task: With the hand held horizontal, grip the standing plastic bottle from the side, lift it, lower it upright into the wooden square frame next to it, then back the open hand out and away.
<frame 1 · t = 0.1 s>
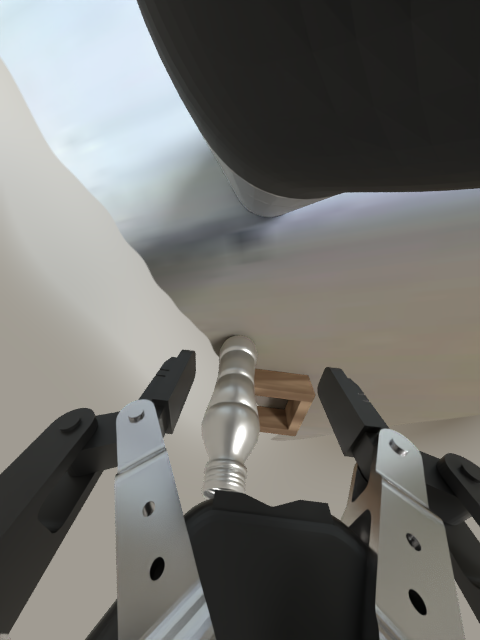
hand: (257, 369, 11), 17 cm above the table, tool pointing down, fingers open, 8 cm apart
wooden square frame: (268, 393, 37), on the table
plastic bottle: (239, 344, 32), on the table
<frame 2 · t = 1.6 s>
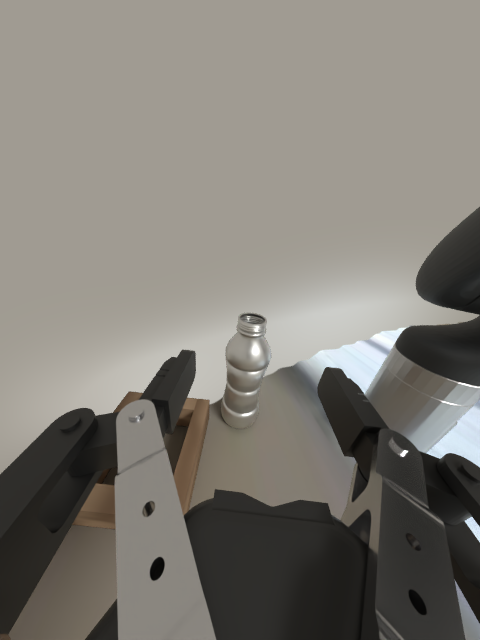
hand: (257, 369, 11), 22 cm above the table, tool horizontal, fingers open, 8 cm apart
wooden square frame: (152, 457, 25), on the table
plastic bottle: (238, 417, 31), on the table
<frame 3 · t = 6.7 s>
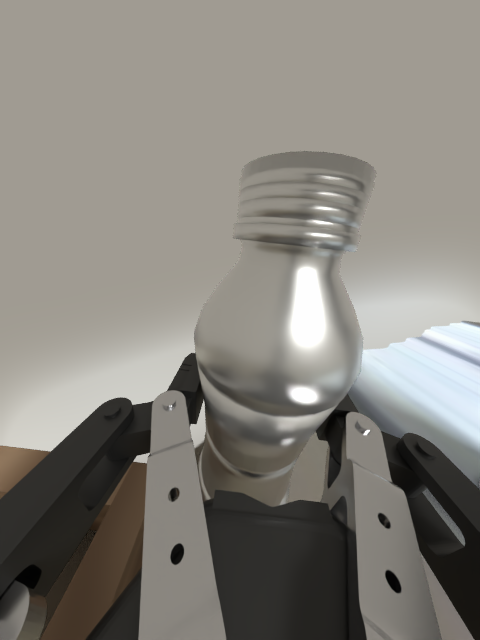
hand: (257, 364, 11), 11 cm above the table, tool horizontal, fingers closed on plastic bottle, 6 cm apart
plastic bottle: (238, 493, 14), on the table, touching gripper
when the fingers open (12 cm above the table, at t = 13.6 s): plastic bottle drops 1 cm, resting in wooden square frame.
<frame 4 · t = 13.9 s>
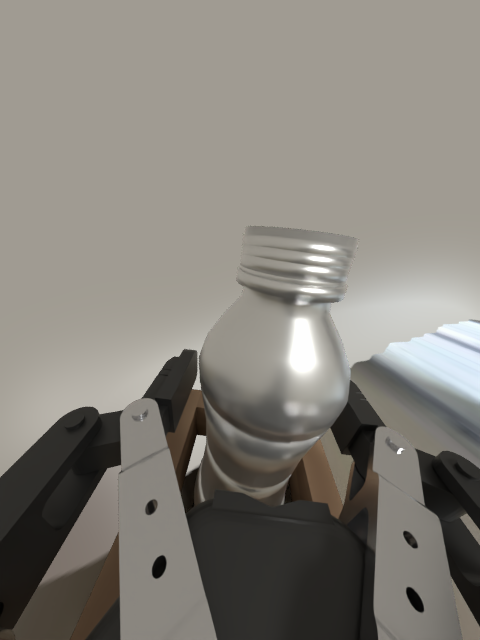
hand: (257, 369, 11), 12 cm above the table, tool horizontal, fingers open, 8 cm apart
wooden square frame: (236, 500, 14), on the table
plastic bottle: (235, 503, 14), resting in wooden square frame
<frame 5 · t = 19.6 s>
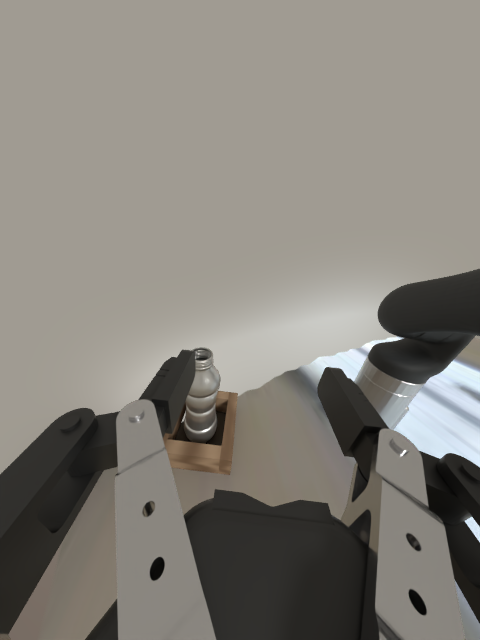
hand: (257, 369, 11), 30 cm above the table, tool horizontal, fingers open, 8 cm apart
wooden square frame: (201, 430, 36), on the table
plastic bottle: (200, 431, 36), resting in wooden square frame
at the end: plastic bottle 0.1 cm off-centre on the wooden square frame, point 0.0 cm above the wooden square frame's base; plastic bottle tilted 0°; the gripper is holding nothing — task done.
